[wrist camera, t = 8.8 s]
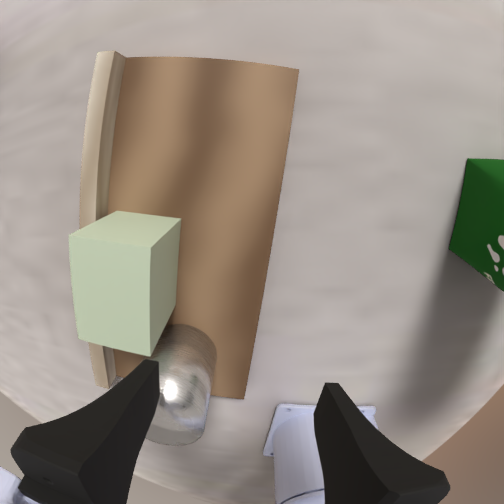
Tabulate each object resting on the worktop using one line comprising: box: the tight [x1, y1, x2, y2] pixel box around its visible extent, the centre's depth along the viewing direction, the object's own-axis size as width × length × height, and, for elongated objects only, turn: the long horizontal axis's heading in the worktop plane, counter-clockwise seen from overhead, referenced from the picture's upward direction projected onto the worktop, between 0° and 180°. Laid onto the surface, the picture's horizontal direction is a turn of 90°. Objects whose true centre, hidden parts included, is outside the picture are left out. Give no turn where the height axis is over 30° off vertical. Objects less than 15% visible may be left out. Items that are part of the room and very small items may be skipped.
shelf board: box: [80, 51, 299, 399], centre depth 20 cm, size 12×24×3 cm, turn 172°
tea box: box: [69, 211, 181, 357], centre depth 17 cm, size 4×6×6 cm
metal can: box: [140, 324, 217, 446], centre depth 19 cm, size 5×5×7 cm
